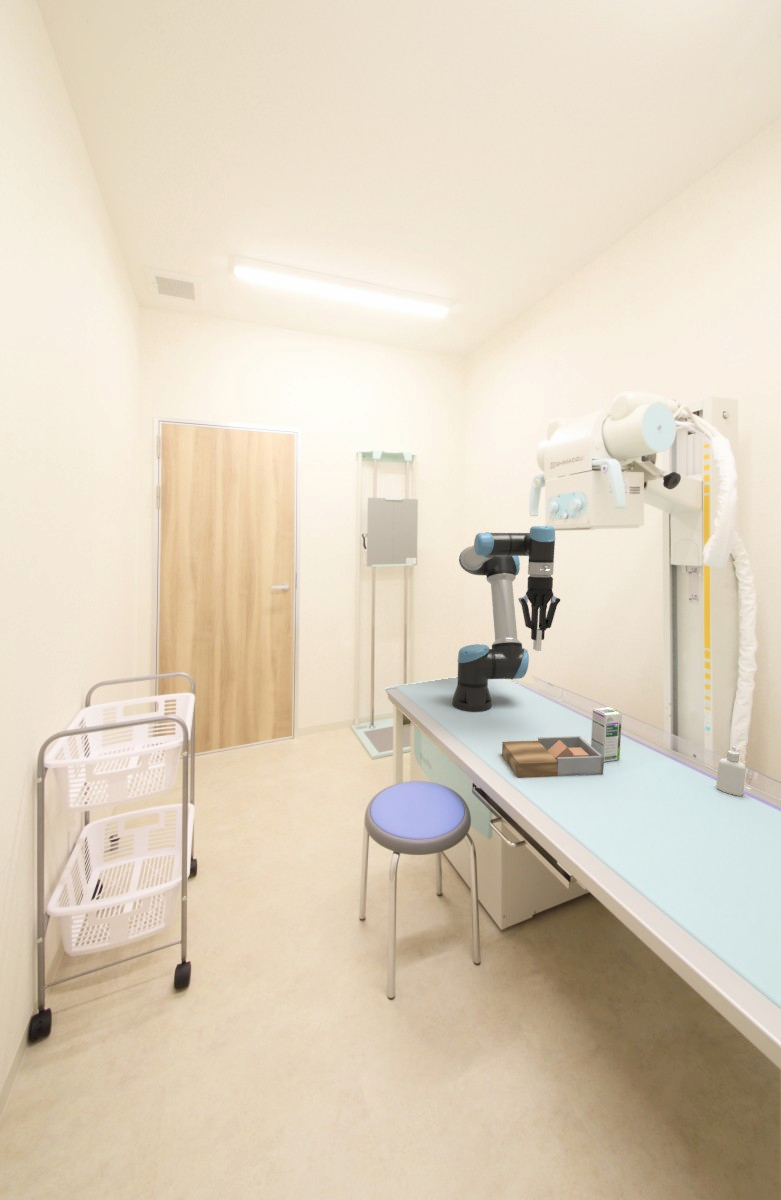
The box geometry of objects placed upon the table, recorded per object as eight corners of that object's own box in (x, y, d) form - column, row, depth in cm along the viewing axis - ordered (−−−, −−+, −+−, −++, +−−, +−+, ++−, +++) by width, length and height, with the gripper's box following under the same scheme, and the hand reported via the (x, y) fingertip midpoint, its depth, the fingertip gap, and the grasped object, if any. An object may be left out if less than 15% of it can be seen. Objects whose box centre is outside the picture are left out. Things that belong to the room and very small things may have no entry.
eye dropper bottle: (725, 784, 125) (729, 741, 124) (746, 795, 120) (751, 750, 118) (712, 786, 124) (717, 743, 122) (733, 798, 119) (738, 752, 117)
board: (502, 754, 142) (502, 741, 142) (537, 753, 143) (538, 740, 142) (518, 777, 128) (519, 763, 128) (557, 776, 129) (558, 762, 129)
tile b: (580, 747, 139) (580, 757, 139) (564, 747, 138) (563, 757, 139) (589, 755, 134) (588, 765, 134) (572, 755, 134) (571, 765, 134)
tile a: (553, 758, 139) (546, 751, 138) (565, 746, 138) (559, 739, 138) (560, 766, 134) (554, 759, 133) (573, 754, 133) (567, 747, 133)
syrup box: (603, 762, 137) (606, 714, 135) (589, 753, 143) (592, 707, 141) (619, 760, 139) (623, 712, 137) (605, 751, 144) (608, 706, 142)
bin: (537, 753, 143) (538, 737, 142) (578, 751, 144) (579, 736, 143) (557, 776, 129) (558, 758, 129) (603, 774, 130) (604, 757, 130)
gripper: (524, 576, 143) (521, 652, 146) (565, 576, 144) (562, 652, 147) (515, 575, 151) (513, 647, 154) (555, 575, 152) (551, 646, 155)
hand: (537, 649), depth 150 cm, fingers closed
